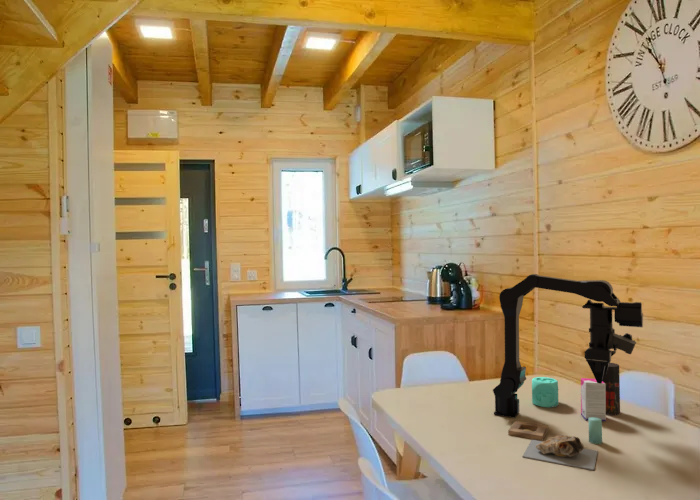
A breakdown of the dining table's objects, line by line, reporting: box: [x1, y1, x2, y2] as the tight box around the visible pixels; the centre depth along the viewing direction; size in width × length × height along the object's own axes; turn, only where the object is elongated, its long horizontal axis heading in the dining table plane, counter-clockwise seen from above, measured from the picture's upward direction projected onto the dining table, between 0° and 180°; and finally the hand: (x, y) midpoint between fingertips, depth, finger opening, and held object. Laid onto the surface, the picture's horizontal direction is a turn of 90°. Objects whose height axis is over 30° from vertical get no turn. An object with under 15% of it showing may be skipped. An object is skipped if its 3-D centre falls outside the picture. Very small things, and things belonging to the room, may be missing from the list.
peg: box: [588, 417, 603, 445], centre depth 132 cm, size 3×3×6 cm
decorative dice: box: [531, 376, 559, 408], centre depth 164 cm, size 8×8×8 cm
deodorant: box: [602, 362, 621, 416], centre depth 155 cm, size 6×6×15 cm
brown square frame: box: [507, 420, 549, 441], centre depth 139 cm, size 9×9×1 cm
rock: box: [536, 434, 585, 457], centre depth 124 cm, size 9×6×10 cm
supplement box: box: [580, 377, 607, 422], centre depth 150 cm, size 6×6×12 cm
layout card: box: [522, 439, 599, 471], centre depth 124 cm, size 16×12×1 cm
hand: (601, 379), depth 140 cm, fingers open, 9 cm apart
